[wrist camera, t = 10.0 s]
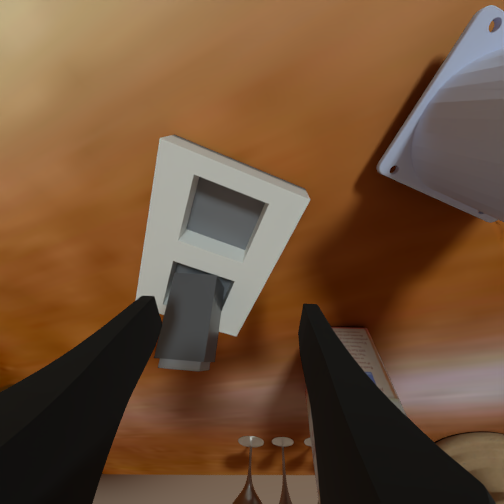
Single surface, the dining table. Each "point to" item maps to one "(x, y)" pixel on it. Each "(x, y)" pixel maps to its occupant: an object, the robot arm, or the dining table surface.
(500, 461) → the candle holder
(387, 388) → the cracker box
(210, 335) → the plug
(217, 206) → the socket plate
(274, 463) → the dining table surface
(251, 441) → the goblet set
